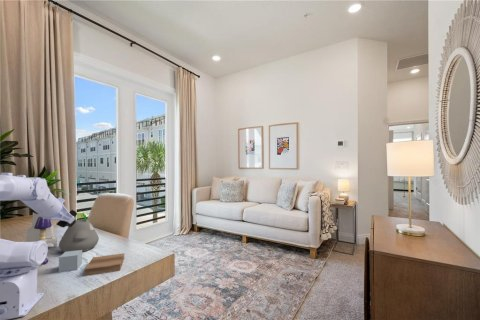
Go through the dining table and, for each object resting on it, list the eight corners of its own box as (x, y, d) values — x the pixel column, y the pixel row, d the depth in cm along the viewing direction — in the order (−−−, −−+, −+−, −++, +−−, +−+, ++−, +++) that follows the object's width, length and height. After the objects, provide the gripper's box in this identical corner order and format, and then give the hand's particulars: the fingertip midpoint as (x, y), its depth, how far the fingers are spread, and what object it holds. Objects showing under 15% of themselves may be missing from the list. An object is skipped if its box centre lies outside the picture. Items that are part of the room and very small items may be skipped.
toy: (101, 249, 91) (102, 213, 91) (60, 258, 81) (61, 218, 82) (94, 240, 101) (95, 208, 102) (57, 248, 92) (58, 212, 93)
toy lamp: (49, 259, 81) (50, 214, 81) (51, 262, 78) (53, 216, 78) (31, 263, 77) (32, 216, 77) (33, 267, 74) (35, 218, 75)
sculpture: (39, 253, 86) (41, 177, 87) (23, 251, 88) (25, 177, 89) (56, 246, 93) (58, 177, 94) (41, 245, 95) (43, 176, 96)
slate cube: (77, 270, 72) (77, 255, 73) (58, 272, 71) (59, 257, 71) (81, 264, 77) (82, 249, 77) (64, 266, 75) (65, 251, 75)
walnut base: (120, 272, 72) (120, 264, 72) (84, 277, 69) (84, 269, 69) (124, 260, 81) (124, 253, 82) (92, 264, 78) (93, 257, 78)
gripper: (76, 202, 66) (90, 218, 77) (35, 181, 67) (55, 200, 77) (55, 222, 61) (73, 236, 72) (12, 200, 62) (36, 217, 73)
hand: (63, 219), depth 74 cm, fingers open, 7 cm apart
